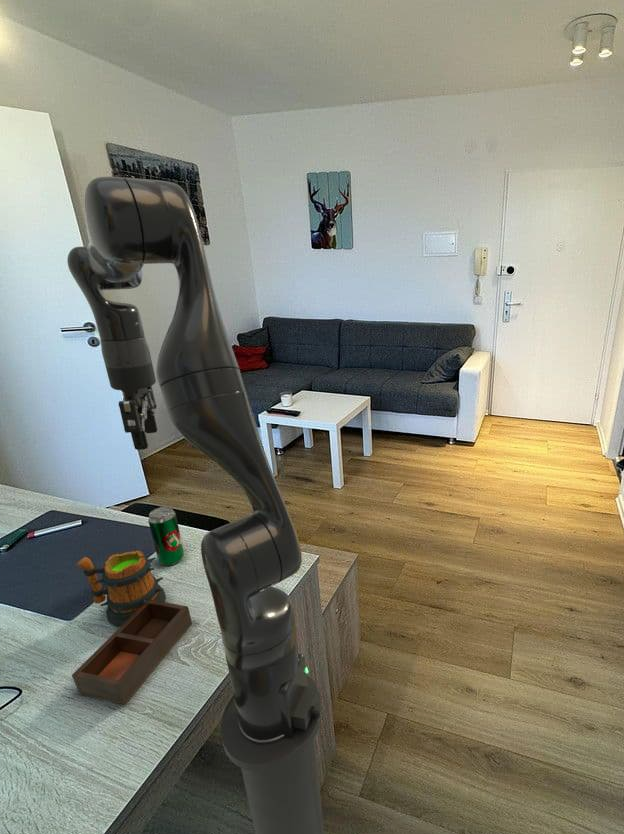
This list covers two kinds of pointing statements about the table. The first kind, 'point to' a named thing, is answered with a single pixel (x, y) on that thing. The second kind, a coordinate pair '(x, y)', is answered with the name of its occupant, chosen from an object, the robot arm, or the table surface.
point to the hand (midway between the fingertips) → (147, 440)
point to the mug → (123, 584)
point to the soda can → (166, 535)
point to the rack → (132, 652)
